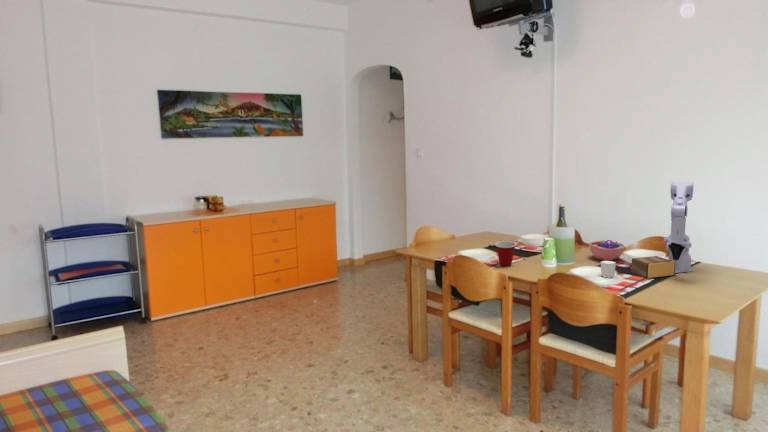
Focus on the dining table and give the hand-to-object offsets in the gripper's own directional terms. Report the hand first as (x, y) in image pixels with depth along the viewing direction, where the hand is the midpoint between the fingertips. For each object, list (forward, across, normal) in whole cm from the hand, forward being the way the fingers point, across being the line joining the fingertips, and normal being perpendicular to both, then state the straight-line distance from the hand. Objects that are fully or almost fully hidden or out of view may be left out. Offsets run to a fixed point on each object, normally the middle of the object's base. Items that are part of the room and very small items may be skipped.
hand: (676, 259), depth 249 cm
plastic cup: (+10, -50, -61) cm, 79 cm away
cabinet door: (+9, -6, -3) cm, 11 cm away
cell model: (+10, -43, -5) cm, 44 cm away
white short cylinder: (+10, -15, -25) cm, 31 cm away
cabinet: (+9, -12, -3) cm, 16 cm away
